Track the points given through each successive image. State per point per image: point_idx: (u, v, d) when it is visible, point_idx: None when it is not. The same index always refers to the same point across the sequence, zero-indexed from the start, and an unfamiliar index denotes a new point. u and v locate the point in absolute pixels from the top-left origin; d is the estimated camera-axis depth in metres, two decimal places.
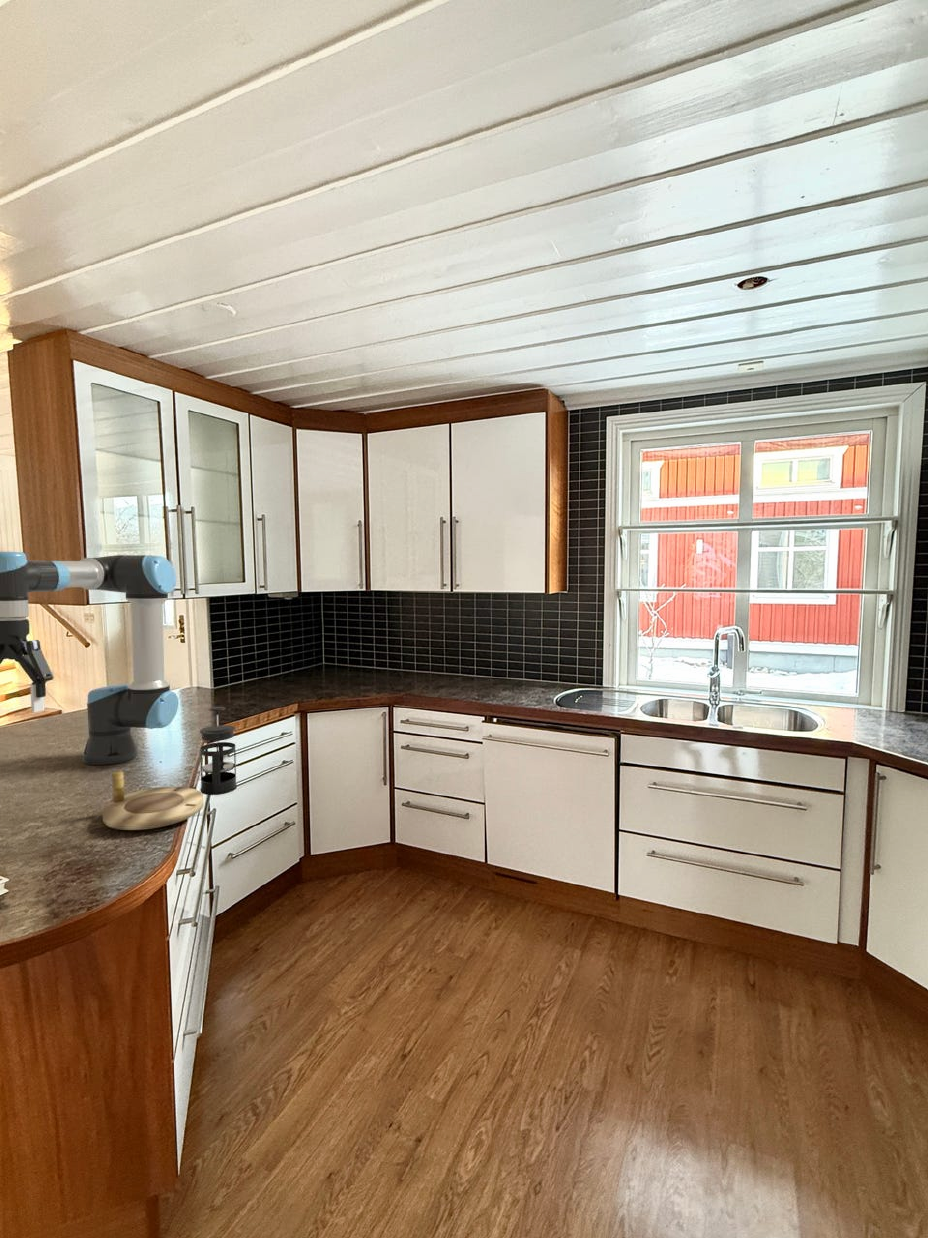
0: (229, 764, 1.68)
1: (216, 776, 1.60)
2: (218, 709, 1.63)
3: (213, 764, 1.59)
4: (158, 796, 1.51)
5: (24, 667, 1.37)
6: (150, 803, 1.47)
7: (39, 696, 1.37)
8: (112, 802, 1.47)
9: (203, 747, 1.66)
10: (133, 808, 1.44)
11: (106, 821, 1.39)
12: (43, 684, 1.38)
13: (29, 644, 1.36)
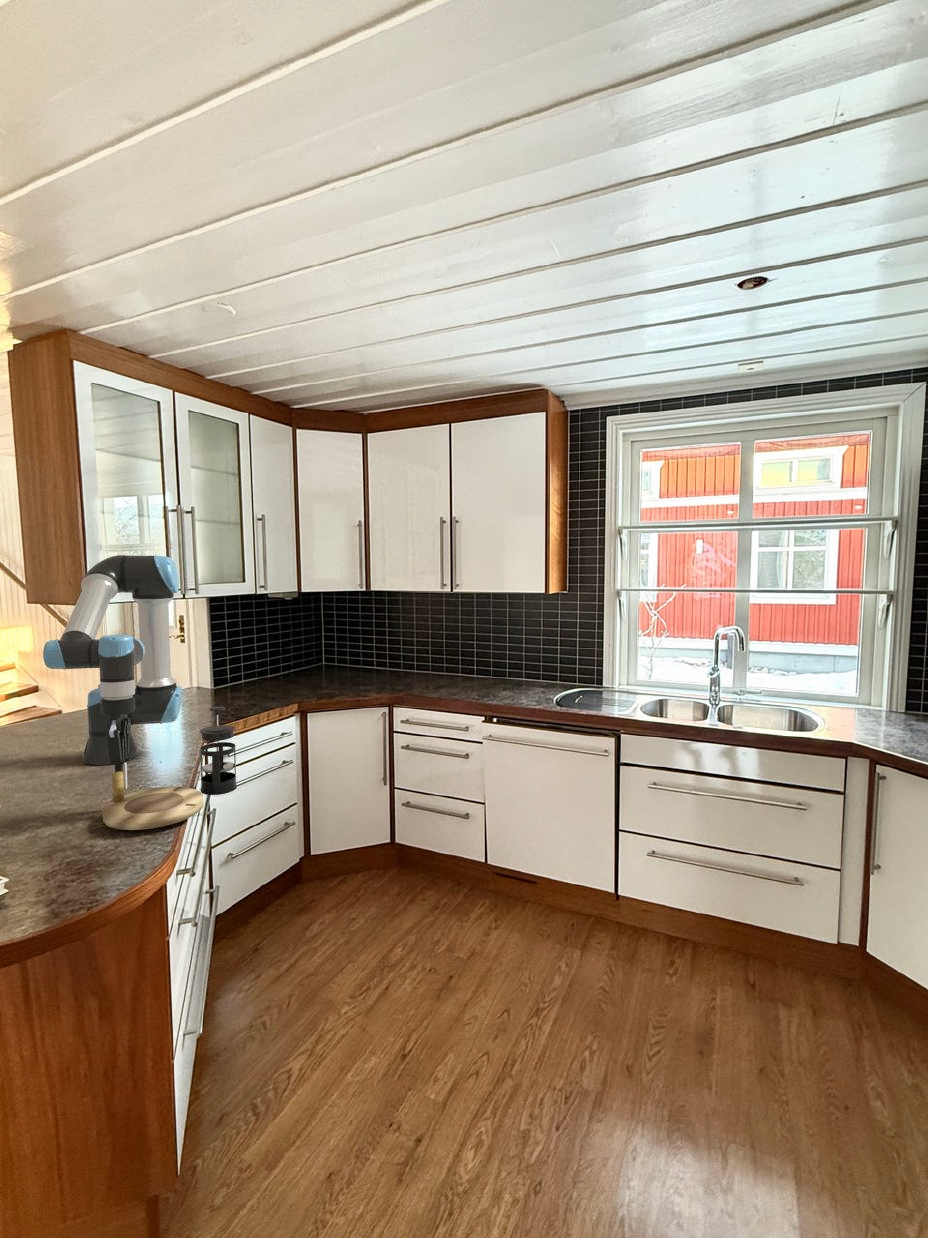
0: (229, 764, 1.68)
1: (216, 776, 1.60)
2: (218, 709, 1.63)
3: (213, 764, 1.59)
4: (158, 796, 1.51)
5: None
6: (150, 803, 1.47)
7: None
8: (112, 802, 1.47)
9: (203, 747, 1.66)
10: (133, 808, 1.44)
11: (106, 821, 1.39)
12: (118, 766, 1.50)
13: None
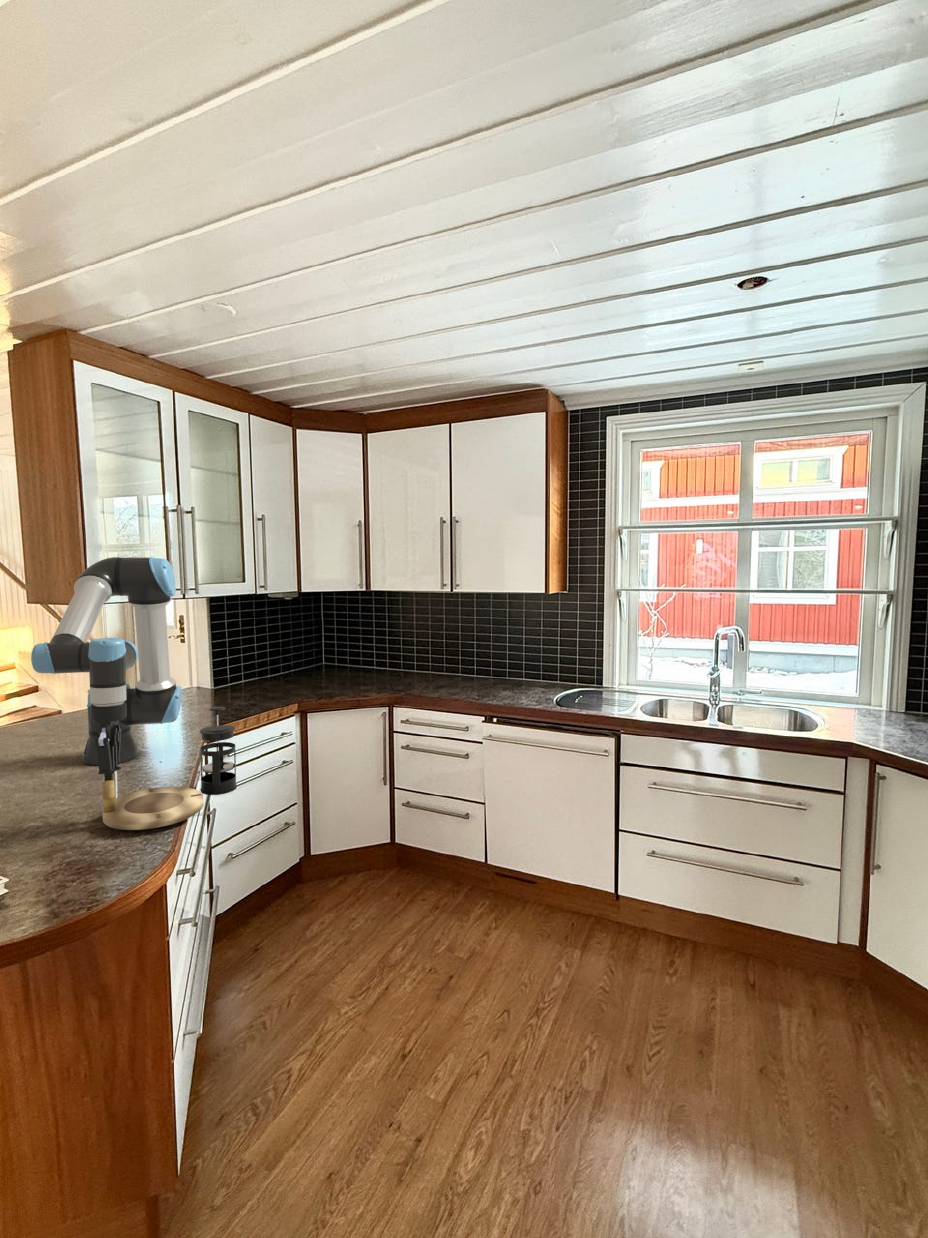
0: (229, 764, 1.68)
1: (216, 776, 1.60)
2: (218, 709, 1.63)
3: (213, 764, 1.59)
4: (146, 798, 1.50)
5: None
6: (152, 803, 1.46)
7: None
8: (106, 813, 1.41)
9: (204, 747, 1.66)
10: (143, 810, 1.42)
11: (131, 825, 1.37)
12: (108, 775, 1.43)
13: None
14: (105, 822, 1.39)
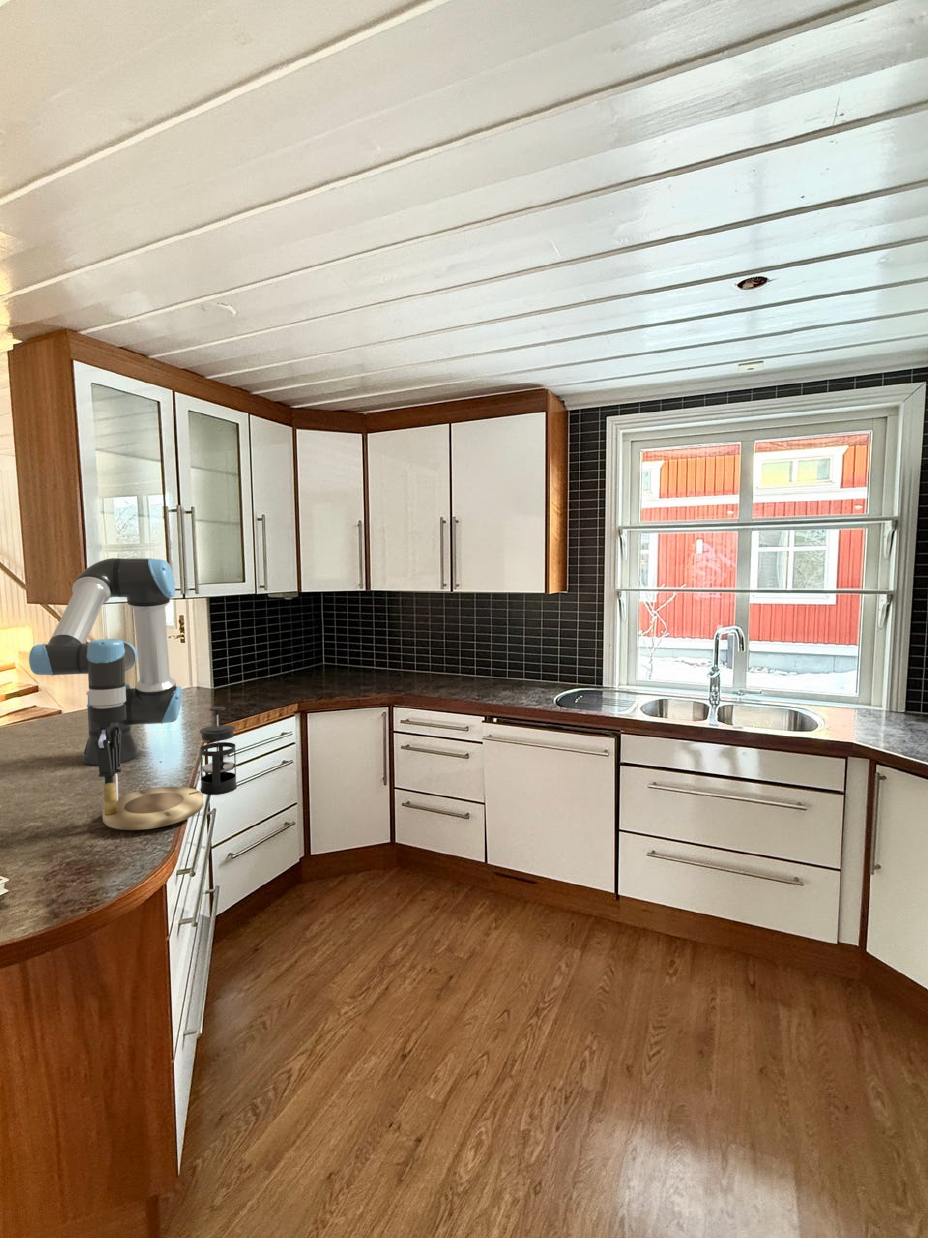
0: (229, 764, 1.68)
1: (216, 776, 1.60)
2: (218, 709, 1.63)
3: (213, 764, 1.59)
4: (143, 799, 1.49)
5: None
6: (153, 803, 1.46)
7: None
8: (109, 815, 1.39)
9: (203, 747, 1.66)
10: (148, 810, 1.43)
11: (141, 825, 1.37)
12: (108, 778, 1.42)
13: None
14: (110, 824, 1.38)
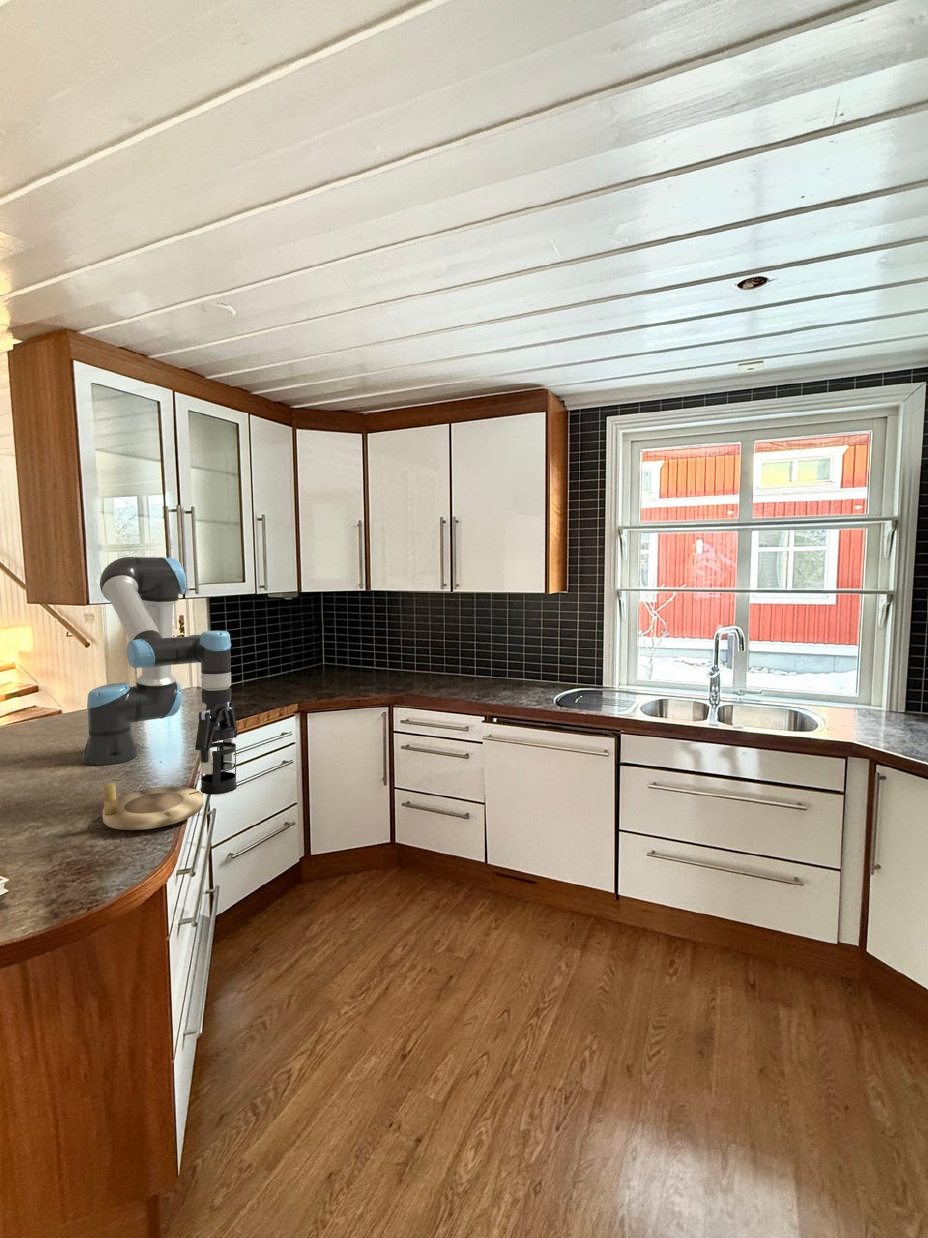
0: (229, 764, 1.68)
1: (216, 776, 1.60)
2: (219, 709, 1.63)
3: (213, 764, 1.59)
4: (143, 799, 1.49)
5: None
6: (153, 803, 1.46)
7: None
8: (109, 815, 1.39)
9: None
10: (148, 810, 1.43)
11: (142, 825, 1.37)
12: (203, 752, 1.57)
13: None
14: (110, 825, 1.38)
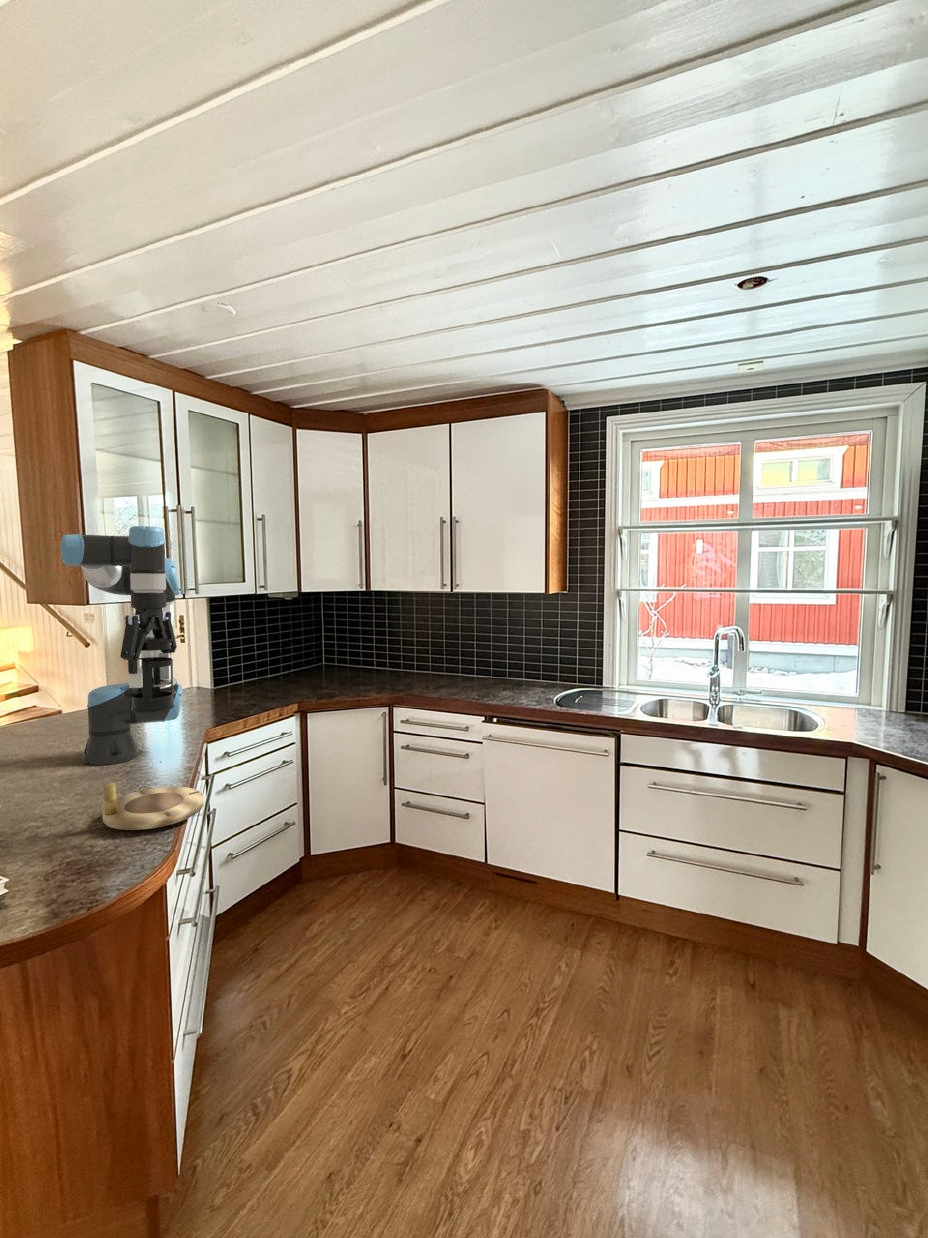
0: (166, 681, 1.48)
1: (147, 690, 1.40)
2: (152, 615, 1.43)
3: (143, 676, 1.39)
4: (143, 799, 1.49)
5: None
6: (153, 803, 1.46)
7: None
8: (109, 815, 1.39)
9: None
10: (148, 810, 1.43)
11: (142, 825, 1.37)
12: (131, 661, 1.37)
13: None
14: (110, 825, 1.38)
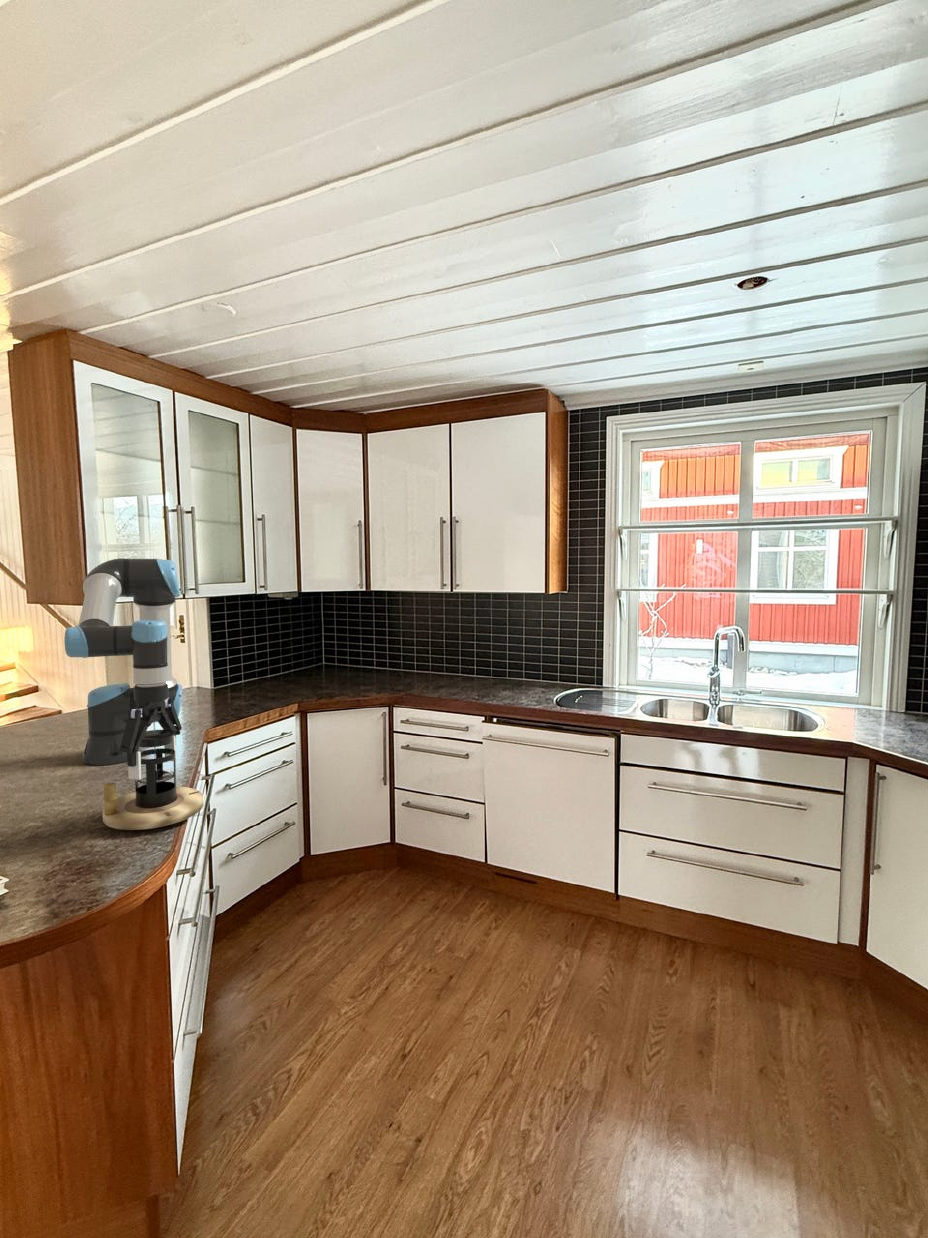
0: (169, 773, 1.50)
1: (151, 787, 1.42)
2: None
3: (147, 773, 1.41)
4: None
5: None
6: None
7: None
8: (109, 815, 1.39)
9: None
10: (148, 810, 1.43)
11: (142, 825, 1.37)
12: (130, 754, 1.38)
13: None
14: (110, 825, 1.38)
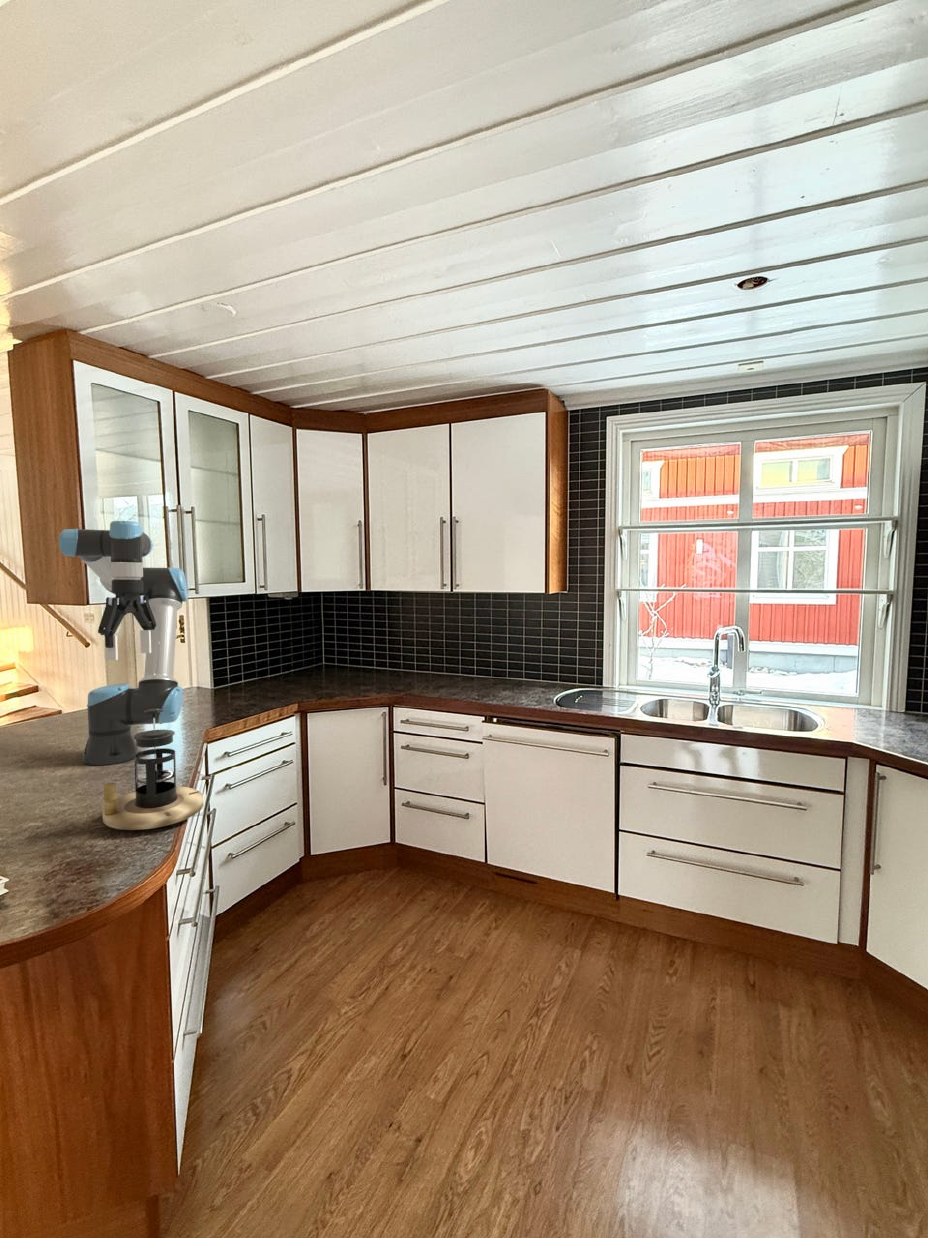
0: (168, 773, 1.50)
1: (151, 787, 1.42)
2: (154, 711, 1.45)
3: (147, 773, 1.41)
4: None
5: None
6: None
7: None
8: (109, 815, 1.39)
9: (139, 754, 1.48)
10: (148, 810, 1.43)
11: (142, 825, 1.37)
12: (107, 636, 1.55)
13: None
14: (110, 825, 1.38)
